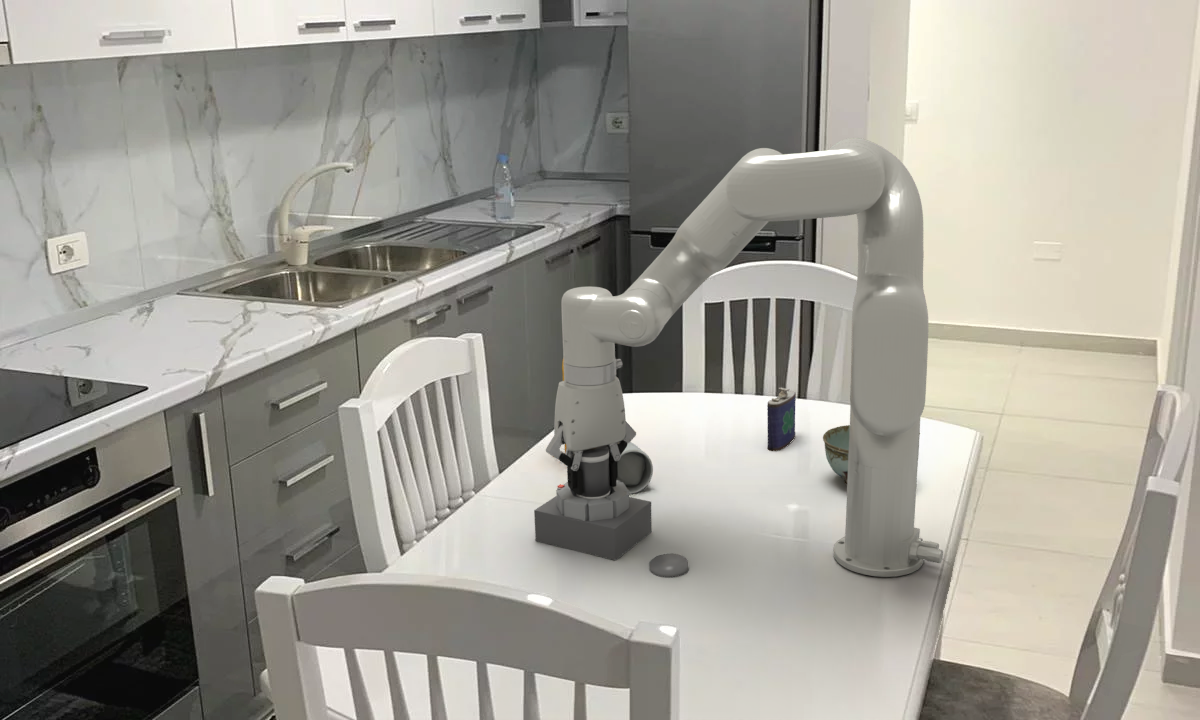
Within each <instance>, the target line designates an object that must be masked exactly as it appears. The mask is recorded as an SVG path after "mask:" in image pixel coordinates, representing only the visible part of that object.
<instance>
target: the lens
mask: <svg viewBox="0 0 1200 720" xmlns="http://www.w3.org/2000/svg"><path fill="white" fill-rule="evenodd" d="M579 468H580V469H581V470H582V471H583V494H582V495H578V494H576V496H577V497H578V498H583V499H588V500H592V499H600V498H607V497H608V496H610V479H609V448H608V446H601V447H597V448H592V449H588V450H583V452H582V456H581V461H580V465H579Z"/></svg>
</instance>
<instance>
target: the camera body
mask: <svg viewBox="0 0 1200 720" xmlns="http://www.w3.org/2000/svg"><path fill="white" fill-rule="evenodd" d="M556 487H557V488H556V490H555V491H556V496H554V497H552V498H551V499H549V500H547V501H546V502H545V503H543V504H542V505H540V506H539V507H537V508H535V509H534V514H533V515H534V534H535V535H534V536H535V539H534V540H535V541H536V542H540V543H543V544H547V545H550V546H551V545H553V546H555V547H558V548H559V547H560V548H563V549H564V548H565V549H568V550H572V551H576V552H580V553H584V554H588V555H591V556H596V557H599V558H603V557H604V558H603V559H609V560H613V561H617V560H619V558H621V557H622V556H623V555H624V554H626V553H627V552H628V551H630V550H631V548H634V547H635V546H636V545H637V544H638V543H640V542H641V541H642V540H643V539H644V538H646V537H647V536H648V535H650V534H651V533H652V530H653V525H652V520H653V519H652V500H651V501H650V500H645V499H640V498H636V497H632V496H630V494H629V490H628V489H627V487H626V486H625V484H624V483H623V482H620V481H618V480H616V486H615V487H612V486H610V496H608V497H607V498H600V499H592V500H588V499H583V498H578V497H577V496H576V493H575V492H573V491H572V490H571V489H570V488H569V486H568V481H566V482H565V483H563V484H561V483H559V484H558V485H557V486H556Z"/></svg>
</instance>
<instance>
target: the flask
mask: <svg viewBox="0 0 1200 720" xmlns="http://www.w3.org/2000/svg"><path fill="white" fill-rule="evenodd" d="M778 389H779V390H780V392H779V393H778V396H777V397H775V398H774V397H772V398H771V399H769V400H768V402H767V405H766V406H767V448H766V449H767V450H769V452H779V451H781V449H782V450H783V449H785V448H787V447H788V446H790V444H791V443H792V442H793V441H794V440H795V438H796V400H797V399H796V392H795V391H793V390H790V388H785V387H778ZM794 437H795V438H794ZM793 439H794V440H793ZM792 440H793V441H792ZM791 441H792V442H791ZM790 442H791V443H790ZM787 445H788V446H787ZM786 446H787V447H786ZM778 450H779V451H778Z"/></svg>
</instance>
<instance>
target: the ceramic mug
mask: <svg viewBox="0 0 1200 720" xmlns="http://www.w3.org/2000/svg"><path fill="white" fill-rule="evenodd" d="M617 465H618V477H617V478H616V480H618V481H620V482H623V483H624V484H625V486H626V487H627V489H628V490H629V495H634V494H638V493H639V492H642V491H643V490H644V489H645V488H647V487H648V485H649V484H650V482H651V480H652V477H653V472H654V466H653V462H652V460H651V458H650V456H649V455H648V454H647V453H646V452H645V451H644V450H642V449H641V448H640V447H638V445H636V444H635V443H633V442H632V441H630V443H628V444H627V447H626V448H625V450H624V451H623V452H622V454H621V458H620V460H619V461H617Z"/></svg>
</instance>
